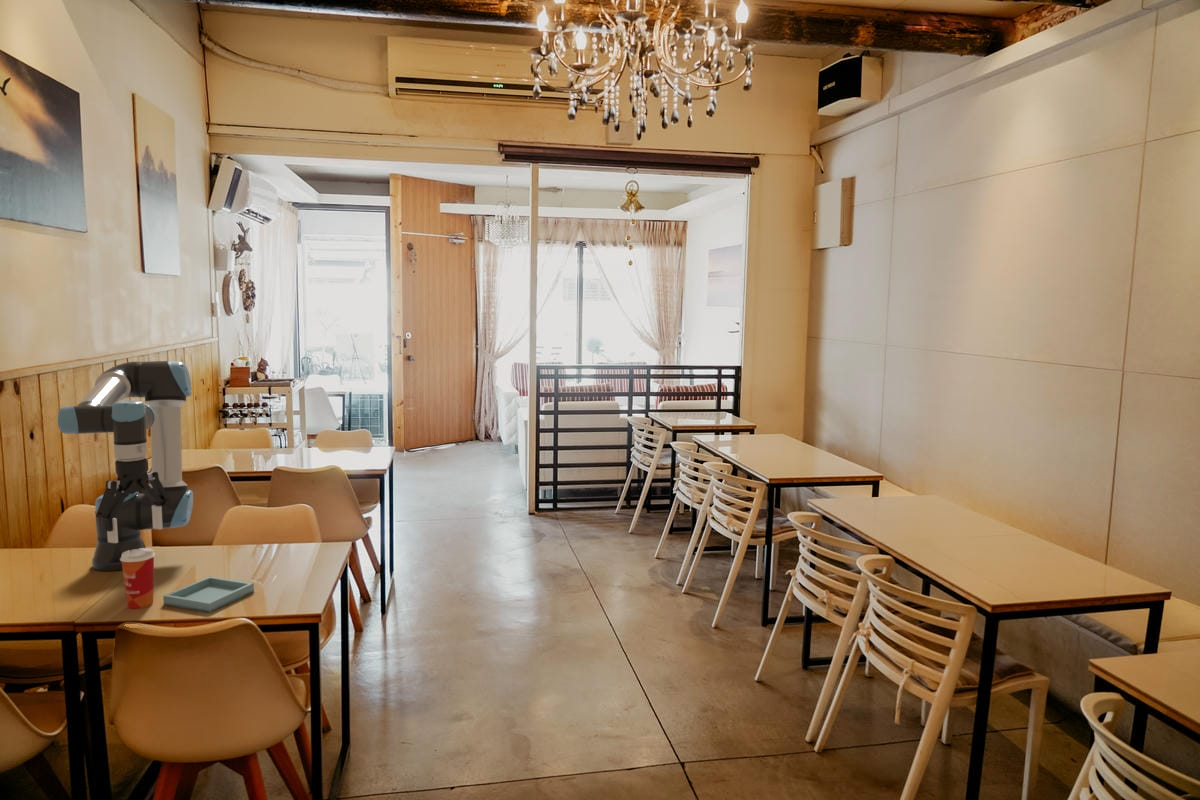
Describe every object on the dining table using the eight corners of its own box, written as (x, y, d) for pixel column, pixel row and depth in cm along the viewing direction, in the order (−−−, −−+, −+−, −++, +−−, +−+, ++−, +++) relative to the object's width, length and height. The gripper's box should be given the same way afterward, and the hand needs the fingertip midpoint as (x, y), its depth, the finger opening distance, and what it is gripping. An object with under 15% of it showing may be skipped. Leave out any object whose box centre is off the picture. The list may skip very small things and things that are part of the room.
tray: (163, 604, 206) (163, 595, 205) (210, 584, 221) (209, 576, 220) (209, 612, 201) (209, 603, 200) (254, 591, 216) (253, 583, 216)
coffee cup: (119, 604, 206) (116, 551, 204) (153, 596, 211) (150, 545, 210) (127, 613, 200) (123, 559, 198) (161, 605, 205) (158, 552, 204)
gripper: (98, 468, 188) (103, 550, 190) (181, 451, 211) (185, 524, 214) (76, 466, 190) (81, 547, 192) (160, 449, 213) (164, 522, 216)
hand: (136, 535), depth 203 cm, fingers open, 13 cm apart
